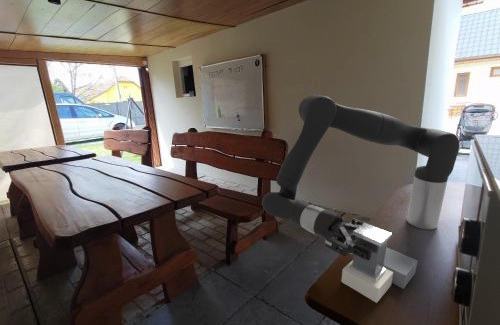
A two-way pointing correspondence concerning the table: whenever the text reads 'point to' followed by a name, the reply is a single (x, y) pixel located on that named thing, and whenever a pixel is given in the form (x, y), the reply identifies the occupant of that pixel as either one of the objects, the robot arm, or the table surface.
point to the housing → (377, 245)
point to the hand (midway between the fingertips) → (379, 248)
